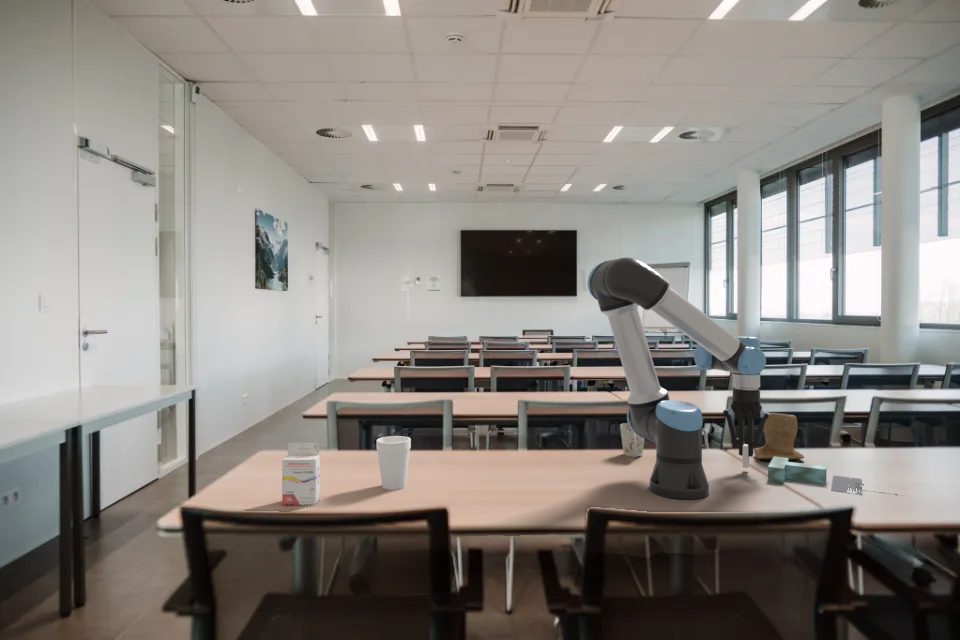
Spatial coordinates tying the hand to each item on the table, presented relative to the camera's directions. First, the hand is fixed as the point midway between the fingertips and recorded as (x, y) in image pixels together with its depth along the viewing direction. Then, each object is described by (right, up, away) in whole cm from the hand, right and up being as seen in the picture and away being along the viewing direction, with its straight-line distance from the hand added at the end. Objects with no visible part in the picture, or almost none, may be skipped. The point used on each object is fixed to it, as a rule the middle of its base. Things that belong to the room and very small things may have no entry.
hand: (746, 466), depth 178 cm
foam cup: (-104, -2, -13) cm, 105 cm away
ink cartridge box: (-125, -3, -27) cm, 128 cm away
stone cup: (+17, -1, +15) cm, 23 cm away
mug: (-29, -1, +18) cm, 34 cm away
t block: (+12, -2, -7) cm, 14 cm away
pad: (+26, -2, -17) cm, 31 cm away
